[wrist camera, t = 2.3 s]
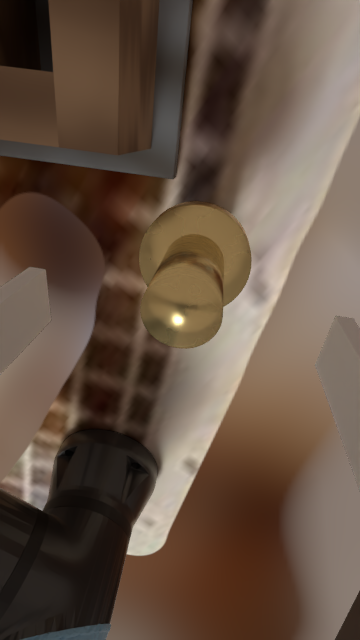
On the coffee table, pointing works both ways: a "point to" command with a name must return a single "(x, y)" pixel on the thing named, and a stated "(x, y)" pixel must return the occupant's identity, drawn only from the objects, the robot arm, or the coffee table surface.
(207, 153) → the coffee table surface
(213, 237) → the brass pin
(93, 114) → the walnut block
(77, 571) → the robot arm
